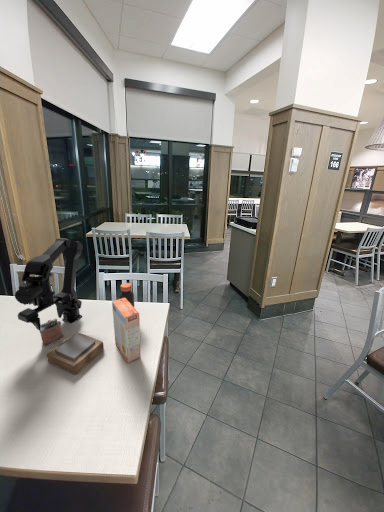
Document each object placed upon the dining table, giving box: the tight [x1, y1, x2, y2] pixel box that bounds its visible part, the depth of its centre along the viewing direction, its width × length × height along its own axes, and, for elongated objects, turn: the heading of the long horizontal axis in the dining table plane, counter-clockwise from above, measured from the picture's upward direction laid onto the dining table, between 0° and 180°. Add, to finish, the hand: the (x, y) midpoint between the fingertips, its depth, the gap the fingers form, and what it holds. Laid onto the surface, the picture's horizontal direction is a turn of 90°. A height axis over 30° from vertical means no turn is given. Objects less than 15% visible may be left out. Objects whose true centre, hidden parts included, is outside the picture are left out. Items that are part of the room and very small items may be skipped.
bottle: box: [118, 282, 135, 308], centre depth 108 cm, size 7×7×20 cm
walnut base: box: [46, 331, 105, 376], centre depth 88 cm, size 14×14×5 cm
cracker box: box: [111, 298, 141, 364], centre depth 89 cm, size 14×6×21 cm, turn 37°
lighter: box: [38, 318, 64, 347], centre depth 94 cm, size 8×3×10 cm, turn 144°
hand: (49, 323), depth 93 cm, fingers open, 9 cm apart
